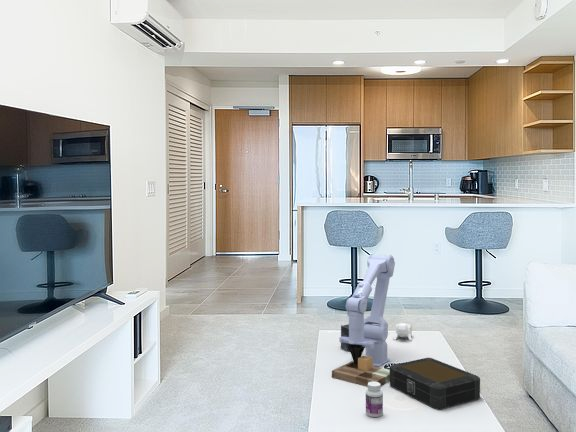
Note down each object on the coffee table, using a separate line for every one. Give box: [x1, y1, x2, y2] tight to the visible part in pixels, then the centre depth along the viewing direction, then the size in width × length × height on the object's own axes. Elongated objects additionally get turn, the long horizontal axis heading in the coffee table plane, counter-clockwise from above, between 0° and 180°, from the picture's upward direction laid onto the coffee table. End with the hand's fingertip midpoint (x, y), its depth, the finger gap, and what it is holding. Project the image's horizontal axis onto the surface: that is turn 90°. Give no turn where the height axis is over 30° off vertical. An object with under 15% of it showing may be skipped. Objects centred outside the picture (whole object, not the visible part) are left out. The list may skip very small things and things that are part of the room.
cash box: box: [389, 357, 481, 410], centre depth 179 cm, size 25×20×8 cm
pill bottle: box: [365, 382, 384, 418], centre depth 162 cm, size 5×5×10 cm
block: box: [358, 355, 374, 371], centre depth 197 cm, size 4×4×4 cm
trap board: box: [331, 360, 390, 388], centre depth 194 cm, size 14×19×2 cm
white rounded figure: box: [392, 322, 413, 342], centre depth 244 cm, size 9×8×15 cm
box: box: [340, 323, 350, 353], centre depth 229 cm, size 8×6×11 cm
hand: (356, 363), depth 199 cm, fingers closed
